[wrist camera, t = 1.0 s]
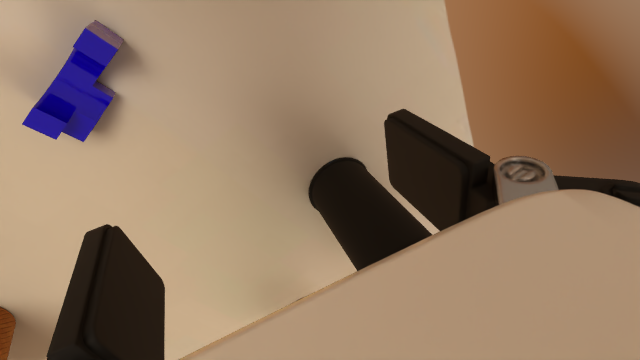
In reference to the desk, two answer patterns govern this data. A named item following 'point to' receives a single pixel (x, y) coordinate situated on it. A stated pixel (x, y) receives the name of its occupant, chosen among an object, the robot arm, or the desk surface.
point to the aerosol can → (362, 213)
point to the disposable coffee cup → (6, 332)
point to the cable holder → (77, 87)
